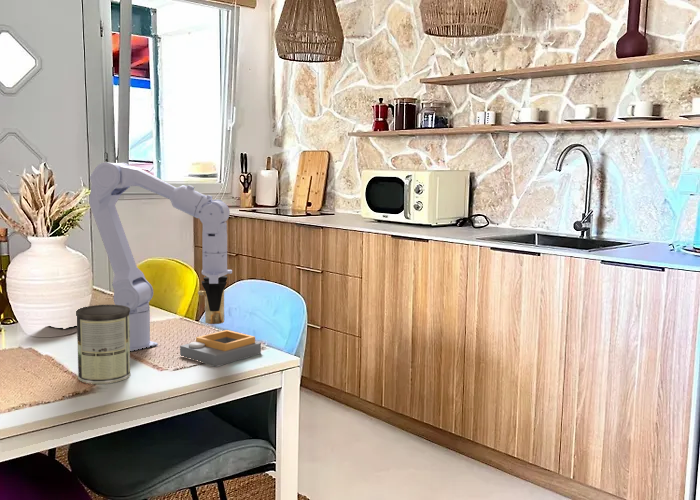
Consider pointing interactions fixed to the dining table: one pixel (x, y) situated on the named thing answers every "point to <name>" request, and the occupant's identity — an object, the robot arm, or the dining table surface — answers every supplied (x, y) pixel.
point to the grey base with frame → (221, 348)
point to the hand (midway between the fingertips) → (215, 308)
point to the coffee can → (103, 343)
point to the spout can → (213, 316)
